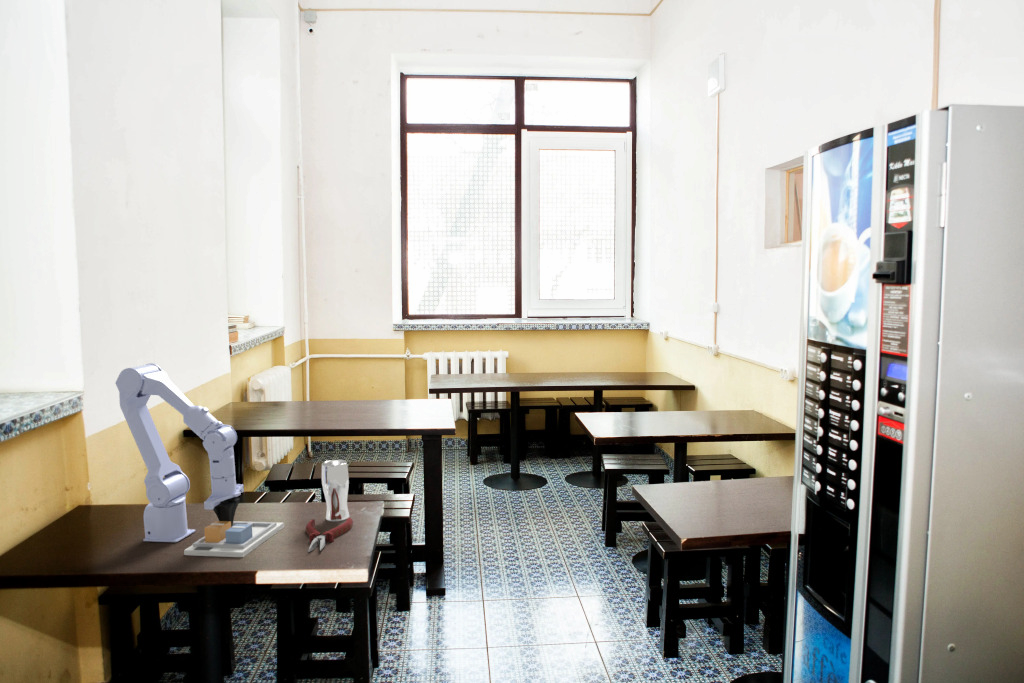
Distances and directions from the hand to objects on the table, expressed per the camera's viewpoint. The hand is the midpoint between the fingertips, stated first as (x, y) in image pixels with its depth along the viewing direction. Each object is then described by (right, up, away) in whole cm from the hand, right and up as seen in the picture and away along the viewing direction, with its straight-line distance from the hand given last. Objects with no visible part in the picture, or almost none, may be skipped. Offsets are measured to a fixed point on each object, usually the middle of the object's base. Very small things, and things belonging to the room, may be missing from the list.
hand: (227, 528), depth 184 cm
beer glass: (+25, -1, +13) cm, 28 cm away
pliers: (+23, -3, -1) cm, 23 cm away
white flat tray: (+3, -3, -2) cm, 4 cm away
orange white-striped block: (-1, -2, -4) cm, 4 cm away
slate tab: (+5, -2, -6) cm, 9 cm away
